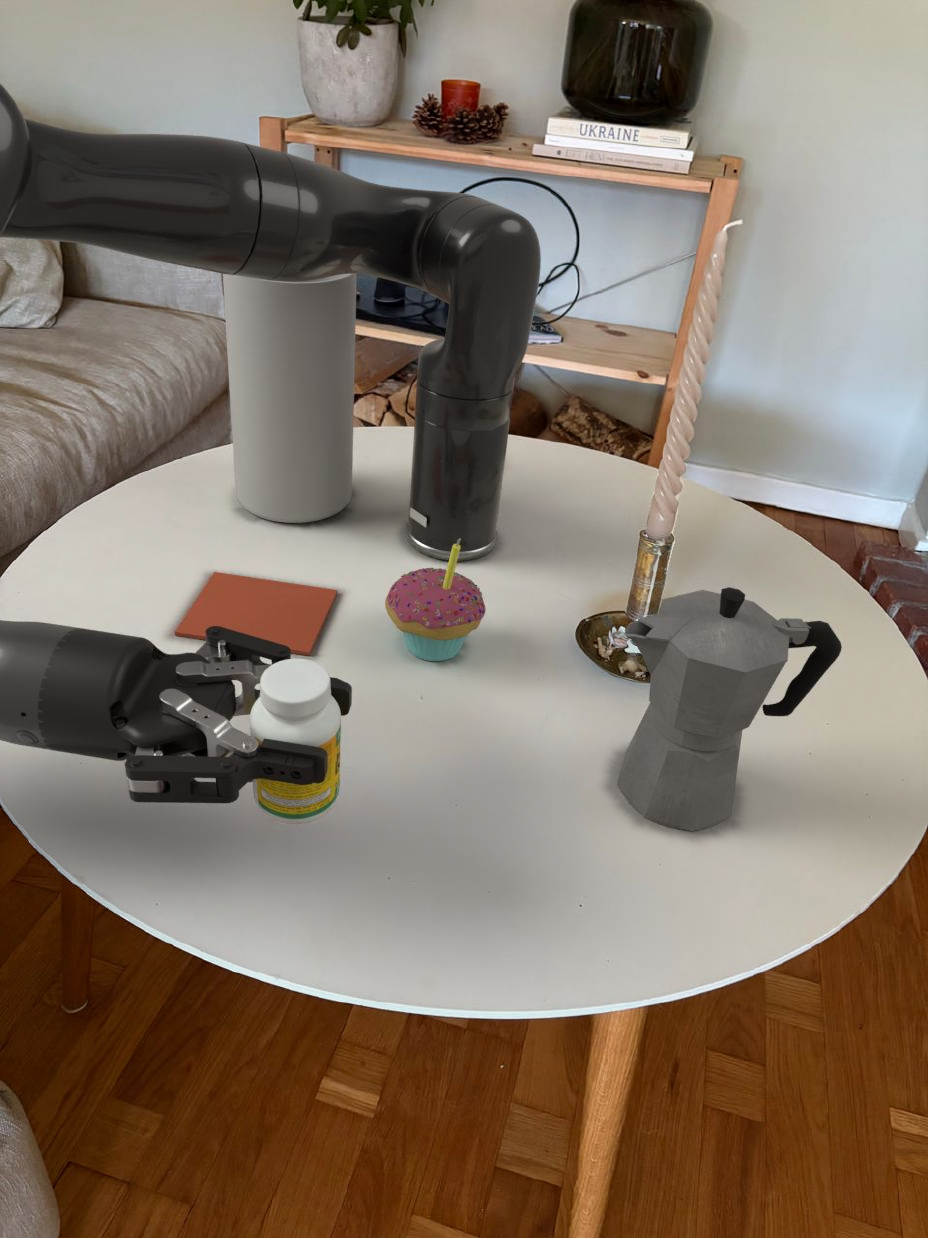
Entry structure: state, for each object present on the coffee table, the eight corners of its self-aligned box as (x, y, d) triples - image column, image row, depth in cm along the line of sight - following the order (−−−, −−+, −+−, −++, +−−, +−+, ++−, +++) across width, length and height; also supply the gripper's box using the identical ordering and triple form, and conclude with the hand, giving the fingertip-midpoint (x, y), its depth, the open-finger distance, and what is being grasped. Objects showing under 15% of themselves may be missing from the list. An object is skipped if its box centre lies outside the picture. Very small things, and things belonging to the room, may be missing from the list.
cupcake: (499, 649, 85) (515, 532, 79) (432, 689, 80) (443, 567, 73) (431, 607, 90) (440, 493, 83) (363, 642, 85) (367, 523, 78)
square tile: (214, 575, 91) (214, 571, 91) (337, 593, 90) (337, 589, 90) (174, 635, 83) (174, 631, 83) (309, 655, 82) (309, 652, 82)
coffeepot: (603, 835, 68) (654, 631, 58) (579, 744, 76) (620, 550, 66) (808, 834, 70) (892, 636, 60) (764, 746, 78) (832, 557, 67)
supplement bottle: (244, 777, 61) (236, 660, 56) (323, 757, 64) (324, 642, 58) (268, 838, 58) (262, 719, 52) (352, 814, 60) (355, 697, 54)
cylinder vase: (261, 464, 111) (252, 238, 96) (365, 482, 109) (372, 256, 95) (217, 514, 101) (199, 270, 86) (331, 534, 99) (333, 290, 85)
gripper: (-11, 719, 50) (306, 770, 49) (108, 573, 62) (366, 612, 61) (15, 818, 54) (307, 867, 53) (122, 664, 66) (363, 702, 65)
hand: (337, 731), depth 57 cm, fingers closed on supplement bottle, 5 cm apart
